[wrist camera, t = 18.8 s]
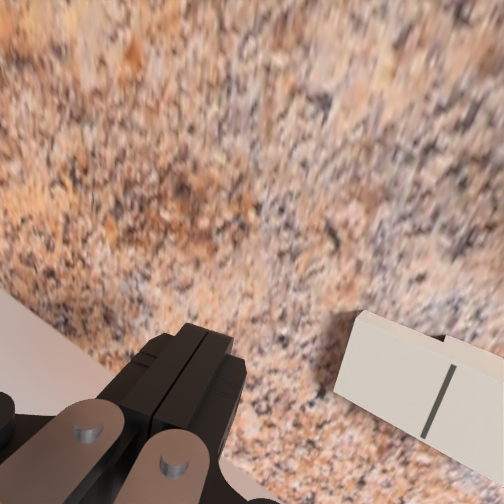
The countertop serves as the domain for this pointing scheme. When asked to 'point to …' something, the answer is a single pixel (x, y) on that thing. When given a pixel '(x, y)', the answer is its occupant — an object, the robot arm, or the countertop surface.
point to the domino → (427, 391)
